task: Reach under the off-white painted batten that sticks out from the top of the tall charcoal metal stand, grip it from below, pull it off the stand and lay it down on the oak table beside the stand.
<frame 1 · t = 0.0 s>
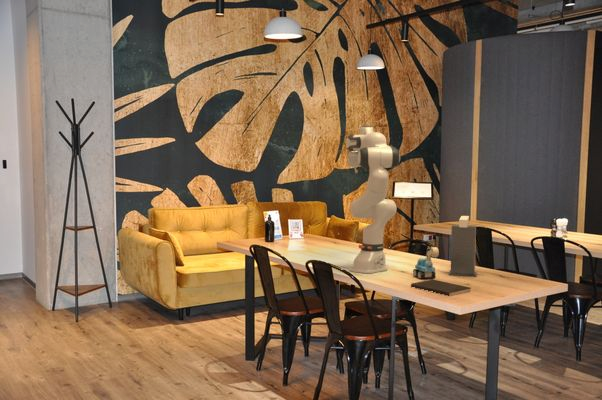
hand: (364, 172, 370), 52 cm above the table, tool tilted 20°, fingers open, 8 cm apart
toy excavator: (426, 279, 311), on the table
stand: (462, 274, 322), on the table
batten: (464, 225, 322), point 26 cm above the table, touching stand
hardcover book: (440, 290, 287), on the table
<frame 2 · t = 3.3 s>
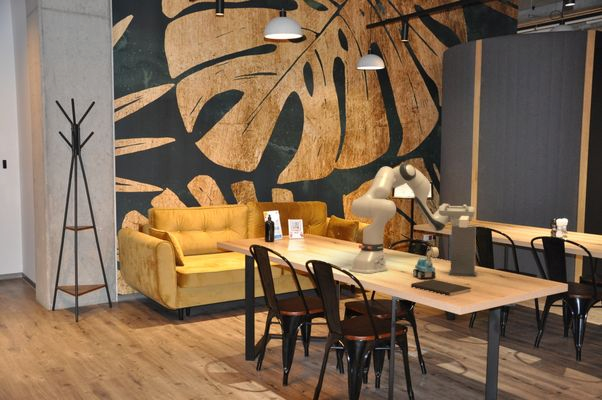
hand: (456, 205, 344), 35 cm above the table, tool pointing upward, fingers open, 8 cm apart
nothing on the table moved.
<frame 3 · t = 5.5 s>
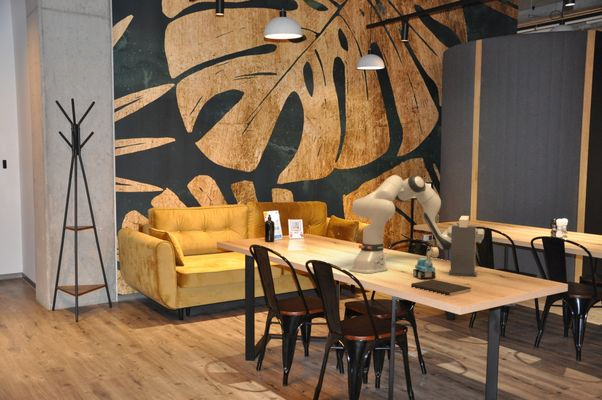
hand: (465, 227, 337), 23 cm above the table, tool pointing upward, fingers open, 8 cm apart
nothing on the table moved.
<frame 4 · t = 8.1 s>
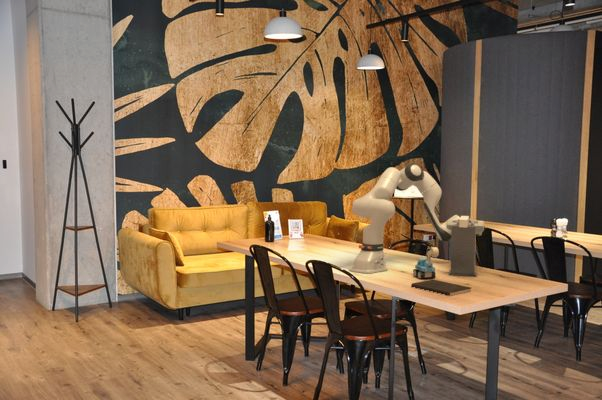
hand: (464, 219, 328), 28 cm above the table, tool pointing upward, fingers closed on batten, 4 cm apart
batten: (464, 225, 322), point 26 cm above the table, touching gripper, stand
everything else where it was.
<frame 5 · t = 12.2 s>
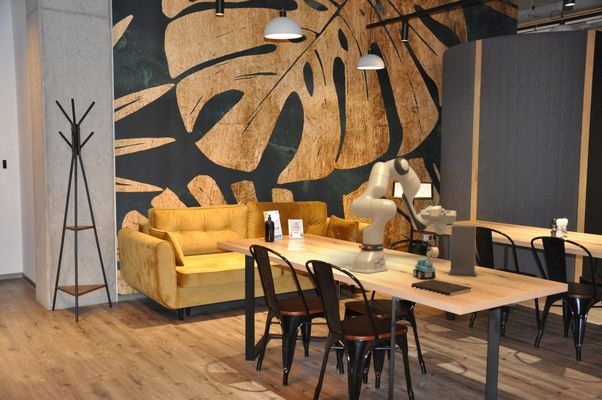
hand: (437, 209, 344), 32 cm above the table, tool pointing upward, fingers closed on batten, 4 cm apart
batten: (436, 214, 339), point 30 cm above the table, touching gripper
everything else where it was.
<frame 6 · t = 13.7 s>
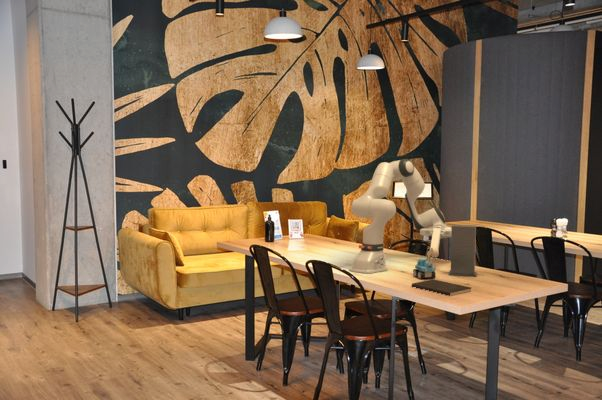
hand: (436, 234, 346), 18 cm above the table, tool horizontal, fingers closed on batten, 4 cm apart
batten: (435, 244, 342), point 13 cm above the table, tilted 30°, touching gripper
everything else where it was.
when the fingers open (5 cm above the table, at t = 16.5 s): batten drops 2 cm, on the table.
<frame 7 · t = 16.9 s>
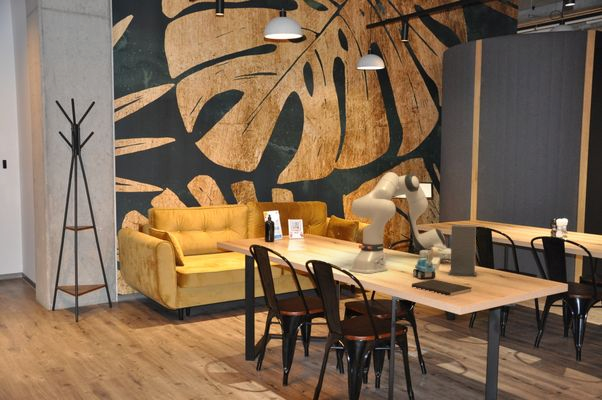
hand: (436, 256, 347), 5 cm above the table, tool horizontal, fingers open, 8 cm apart
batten: (435, 267, 342), on the table
everything else where it was.
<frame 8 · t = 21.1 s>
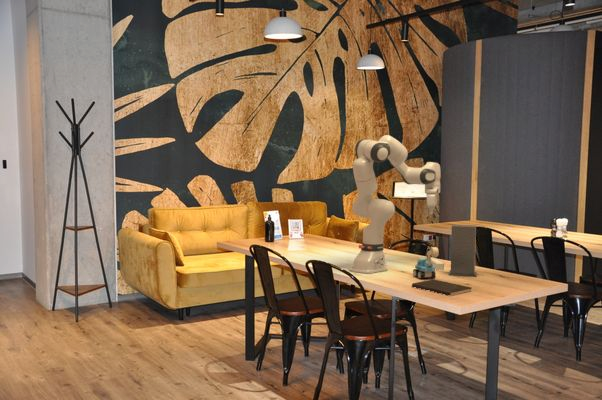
hand: (432, 213, 352), 29 cm above the table, tool pointing down, fingers open, 8 cm apart
at the end: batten inside the target area (0.7 cm from its centre), on the table; the gripper is holding nothing; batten touching table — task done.
